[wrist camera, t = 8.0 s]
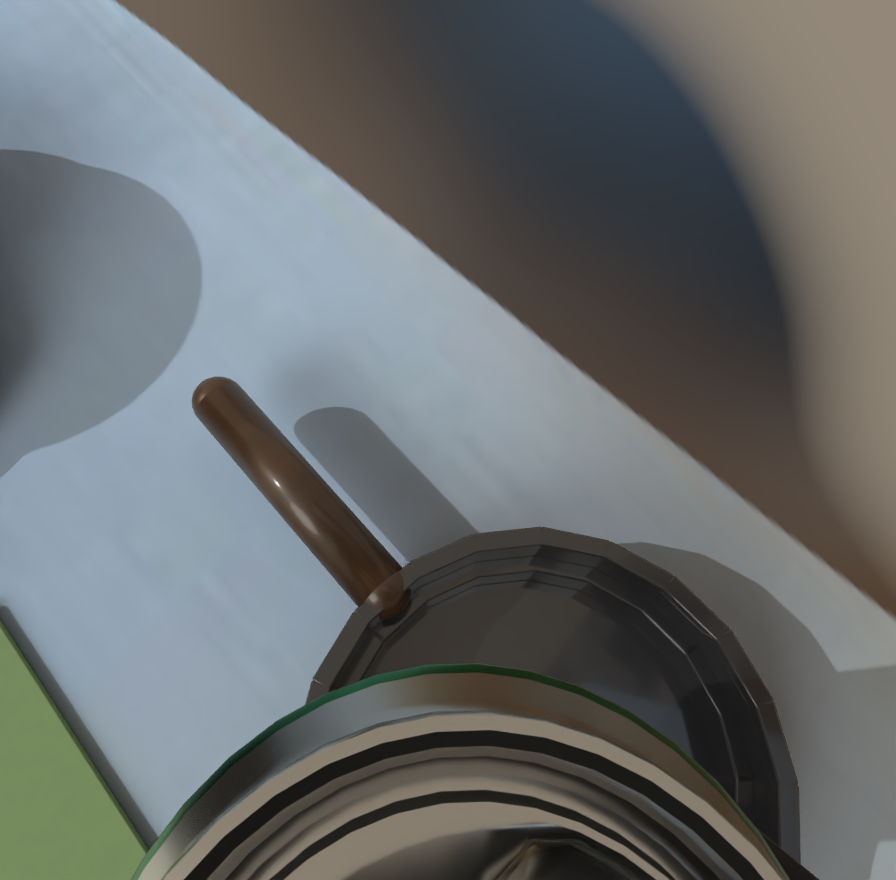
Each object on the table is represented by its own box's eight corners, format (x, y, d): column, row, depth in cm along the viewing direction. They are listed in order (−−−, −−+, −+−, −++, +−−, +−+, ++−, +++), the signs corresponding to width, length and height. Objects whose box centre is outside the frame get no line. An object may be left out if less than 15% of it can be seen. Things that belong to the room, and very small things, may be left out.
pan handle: (423, 596, 21) (423, 585, 19) (380, 635, 20) (377, 627, 19) (232, 382, 24) (218, 357, 22) (191, 411, 23) (173, 388, 22)
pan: (832, 779, 21) (899, 789, 18) (532, 1194, 17) (557, 1296, 14) (525, 478, 25) (539, 445, 22) (218, 754, 20) (185, 759, 17)
